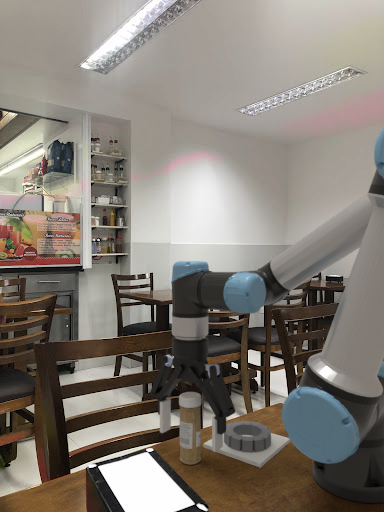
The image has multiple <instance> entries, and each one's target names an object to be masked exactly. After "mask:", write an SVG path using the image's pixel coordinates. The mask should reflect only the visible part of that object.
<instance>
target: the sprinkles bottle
mask: <svg viewBox="0 0 384 512" xmlns="http://www.w3.org/2000/svg"><path fill="white" fill-rule="evenodd" d="M178 405H179V461H180V462H181V463H182V464H185V465H187V466H188V465H189V466H192V465H196V464H198V463H199V462H201V461H202V455H201V448H202V447H201V445H202V444H201V442H202V440H201V439H202V436H201V435H202V431H201V430H202V429H201V428H202V427H201V405H202V395H201V394H200V393H198V392H195V391H185V392H182V393H180V395H179V396H178Z"/></svg>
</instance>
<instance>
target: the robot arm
mask: <svg viewBox="0 0 384 512" xmlns="http://www.w3.org/2000/svg"><path fill="white" fill-rule="evenodd" d="M373 151H374V152H373V155H374V156H373V160H374V165H375V168H376V169H375V172H374V175H373V177H372V181H371V183H370V186H369V189H368V191H367V192H366V193H365V194H363V195H362V196H360V197H358V199H356V200H354V201H353V202H352V203H351V204H349V205H347V206H346V207H345V208H343V209H342V210H341V211H338V213H336V214H334V216H332V217H331V218H329V219H328V220H326V221H325V222H324V223H322V224H320V225H318V227H317V228H315V229H314V230H311V232H309V233H308V234H306V235H304V237H302V238H301V239H299V240H298V241H297V242H295V243H294V244H292V245H291V246H289V247H288V248H287V249H285V250H284V251H282V252H281V253H280V254H278V255H277V256H275V257H273V259H271V260H270V261H269V262H266V263H265V264H264V265H263V266H261V267H260V268H258V269H256V270H247V271H246V270H245V271H244V270H243V271H242V270H241V271H210V269H209V268H210V267H209V263H208V262H207V261H202V260H201V261H200V260H199V261H198V260H197V261H196V260H192V261H191V260H189V261H183V260H181V261H180V260H179V261H176V262H175V263H174V264H173V266H172V272H171V273H172V274H171V281H170V282H171V283H170V284H171V298H172V299H171V302H172V305H171V306H172V308H171V309H172V311H171V312H172V313H171V334H172V336H173V337H172V338H171V353H168V354H166V355H163V356H161V359H160V367H159V369H158V372H157V374H156V377H155V380H154V381H153V384H152V387H151V389H150V392H149V393H150V396H151V397H155V398H156V401H157V414H158V416H159V433H161V434H164V433H166V432H167V431H169V430H171V429H172V427H171V426H172V425H171V424H172V423H171V422H172V421H171V419H172V416H171V415H172V412H171V407H172V405H171V404H172V400H171V398H169V397H170V395H171V393H172V392H173V391H174V389H175V388H176V387H177V385H178V384H179V383H180V382H184V383H187V382H188V383H189V384H195V387H197V388H198V389H199V390H200V391H201V393H202V395H203V397H204V399H205V400H206V402H207V404H208V405H209V407H210V409H211V411H212V412H213V414H214V416H212V417H211V439H212V450H211V451H212V452H214V453H217V452H216V451H218V450H219V449H221V448H222V447H223V433H225V432H226V425H227V418H229V417H231V416H233V415H234V414H235V413H236V408H235V406H234V403H233V400H232V398H231V396H230V393H229V390H228V387H227V385H226V382H225V380H224V376H223V371H222V365H221V364H220V363H219V362H217V363H214V364H210V363H209V362H208V355H209V337H208V335H209V312H210V311H209V310H214V311H221V312H230V313H236V314H239V315H242V314H255V313H258V312H259V311H260V310H261V308H262V307H263V306H272V305H275V304H277V303H279V302H281V301H283V300H284V299H286V297H287V296H288V294H289V293H290V292H291V291H293V290H294V289H295V288H296V289H297V287H299V286H301V285H302V284H304V283H305V282H307V281H309V280H310V279H312V278H313V277H315V276H317V275H319V274H320V273H322V272H323V271H325V270H326V269H328V268H329V267H331V266H332V265H334V264H336V263H337V262H339V261H341V260H342V259H343V258H345V257H347V256H348V255H350V254H351V253H353V252H355V251H357V250H358V251H357V253H356V257H355V259H354V261H353V262H354V263H353V264H352V268H351V270H350V274H349V276H348V277H347V281H346V283H345V287H344V290H343V292H342V295H341V297H340V300H339V302H338V303H339V304H338V306H337V309H336V312H335V314H334V317H333V320H332V321H331V326H330V327H329V328H330V329H329V331H328V334H327V336H326V340H325V342H324V345H323V347H322V349H321V350H322V351H321V352H318V353H316V354H313V355H310V357H309V358H308V360H307V362H306V365H305V368H304V371H303V373H302V376H301V378H300V381H299V384H298V386H297V388H294V389H292V390H291V392H290V393H288V396H286V398H285V400H284V402H283V405H282V409H281V421H282V425H283V429H284V430H285V431H286V434H287V436H288V437H287V438H289V439H290V443H292V444H293V446H294V447H295V448H296V449H297V450H298V451H299V452H301V454H303V455H304V456H306V457H308V458H309V459H311V460H312V476H313V478H314V481H316V483H317V484H318V485H319V486H320V487H321V488H323V489H324V490H325V491H327V492H329V493H330V494H333V495H334V496H337V497H339V498H342V499H346V500H349V501H352V502H353V501H354V502H357V503H363V504H364V503H367V504H380V503H384V126H383V128H382V129H381V130H380V131H379V134H378V136H377V138H376V141H375V144H374V148H373ZM172 368H174V371H173V372H172V374H171V375H170V372H171V369H172ZM169 375H170V378H169V379H168V377H169Z"/></svg>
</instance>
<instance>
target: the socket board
mask: <svg viewBox="0 0 384 512" xmlns="http://www.w3.org/2000/svg"><path fill="white" fill-rule="evenodd" d="M290 443H291V440H290V439H289V437H286V436H283V435H279V434H276V433H272V432H271V429H270V428H269V427H268V426H266V425H265V424H263V423H260V422H257V421H252V420H242V421H241V420H239V421H233V422H232V423H231V422H230V423H228V424H226V432H225V433H223V447H222V448H221V449H219V450H218V451H216V452H215V453H218V454H220V455H223V456H226V457H229V458H232V459H235V460H238V461H240V462H243V463H246V464H249V465H252V466H254V467H257V468H259V469H261V468H262V467H264V465H266V464H267V463H268V462H269V461H270V460H272V459H273V457H274V456H276V455H277V454H279V452H281V450H283V449H284V448H285V447H286V446H288V444H290ZM202 448H204V449H206V450H209V451H212V438H210V439H208V440H207V441H206V442H204V443H203V447H202Z"/></svg>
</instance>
